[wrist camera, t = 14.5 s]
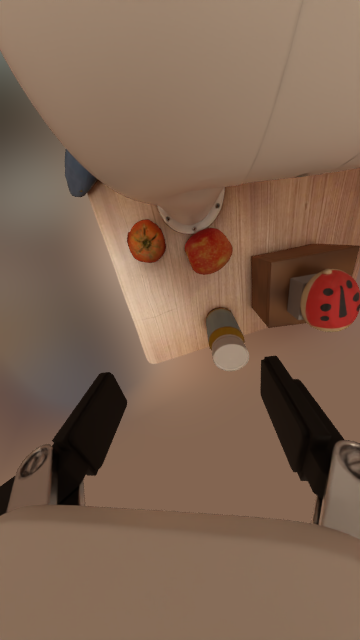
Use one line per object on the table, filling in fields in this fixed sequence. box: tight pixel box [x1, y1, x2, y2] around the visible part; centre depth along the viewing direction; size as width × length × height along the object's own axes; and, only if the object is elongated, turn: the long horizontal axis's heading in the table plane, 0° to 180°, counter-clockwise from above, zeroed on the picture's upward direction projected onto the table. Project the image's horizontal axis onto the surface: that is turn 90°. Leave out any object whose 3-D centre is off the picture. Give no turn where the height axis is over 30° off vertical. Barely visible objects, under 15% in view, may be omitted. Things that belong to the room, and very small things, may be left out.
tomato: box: [127, 220, 166, 263], centre depth 33 cm, size 8×7×7 cm
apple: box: [185, 228, 232, 275], centre depth 30 cm, size 8×8×8 cm
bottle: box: [206, 308, 249, 371], centre depth 34 cm, size 7×7×15 cm
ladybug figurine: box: [300, 269, 360, 332], centre depth 22 cm, size 7×10×4 cm
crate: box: [251, 244, 360, 328], centre depth 31 cm, size 12×12×10 cm
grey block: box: [287, 273, 351, 320], centre depth 25 cm, size 6×6×4 cm
